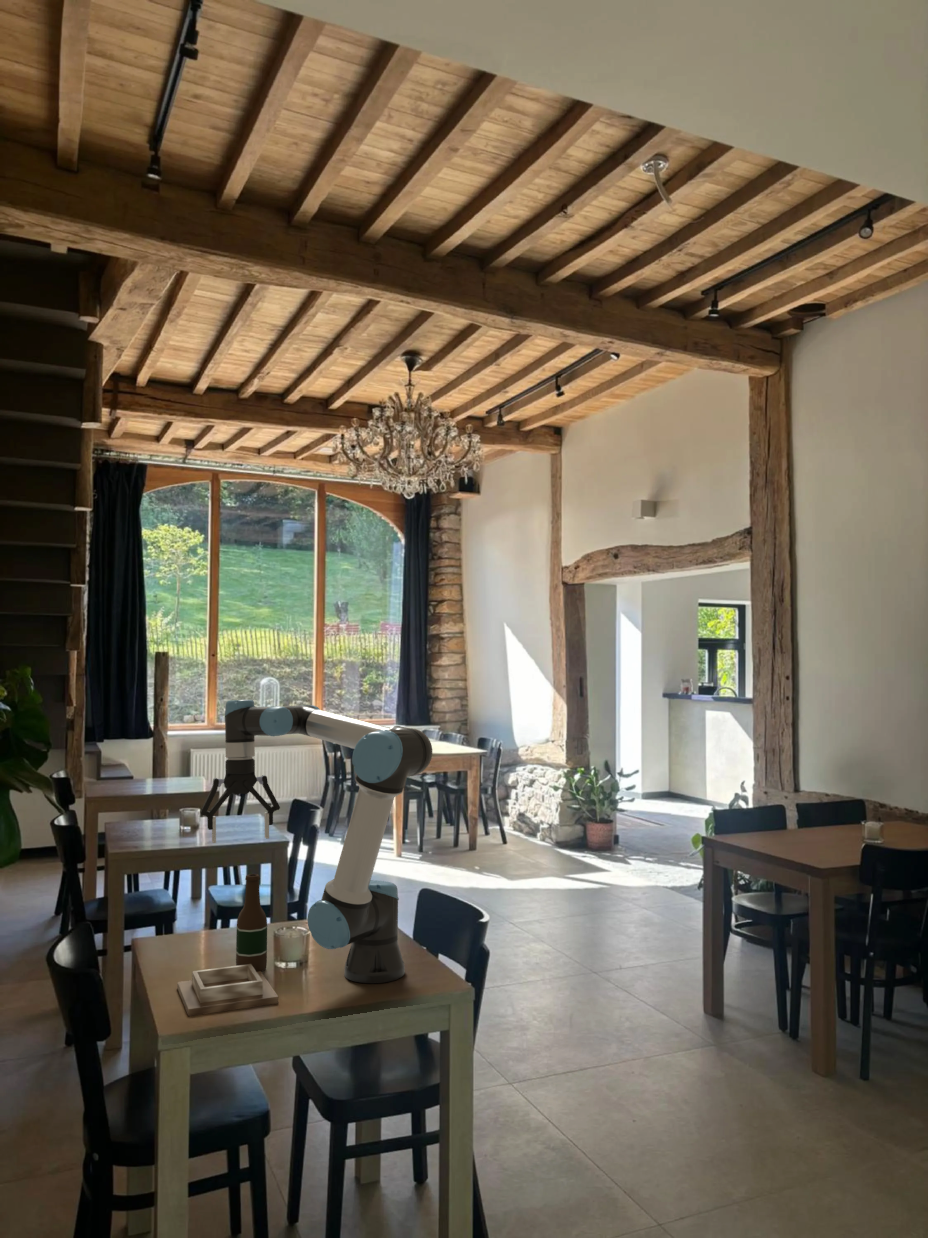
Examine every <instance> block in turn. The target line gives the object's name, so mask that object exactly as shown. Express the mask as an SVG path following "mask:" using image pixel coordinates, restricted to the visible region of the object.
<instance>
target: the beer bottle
mask: <svg viewBox="0 0 928 1238" xmlns="http://www.w3.org/2000/svg"><path fill="white" fill-rule="evenodd" d="M260 877H261V876H260V875H259V874H258V873H249V874H247V875H246V876H245V881H246V883H245V892H244V893H245V894H244V904H243V908H242V909H241V910H240V911H239V914H238V917H237V919H236V941H235V942H236V943H235V945H236V947H235V950H236V952H235V966H239V965H247V964H251V965H252V966H253V968H254V969H255V970H256V972H259V971H261V973H263V972H264V971H265V970H267V963H268V960H267V959H268V919H267V916H266V913H265V911H264V909H263V908H262V906H261V899H260V897H261V896H260V894H261V893H260V879H261V878H260Z"/></svg>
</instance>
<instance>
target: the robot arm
mask: <svg viewBox="0 0 928 1238" xmlns="http://www.w3.org/2000/svg"><path fill="white" fill-rule="evenodd" d="M224 709H225V711H224V723H225V725H224V726H225V728H224V733H225V734H224V735H225V757H226V760H225V767H224V768H225V774H224V775H225V776H224V778H218V777H214V778H213V780H212V787H211V788H210V791H209V792H208V795H207V796H206V799H205V801H204V802H203V805H202V807H201V809H200V813H199V814H200V815H202V816H204V817H207V821H206V822H207V829H208V830H210V831H211V842H212V843H213V844H216V843H217V817H216V816H215V814H216V813H217V811H218V810H219V809H220V808H221V806H222V805H224V803H225V801H226V800H227V799H228V798H229V797H230V796H231V795H238V796H239V795H241V794H242V795H248V794H249V793H250V794H251V795H253V797H254V798H255V799H256V800H257V801H258V802H259V804H260V805H262V807H263V808H264V809H265V810H266V812H264V838H265V839H270V826H273V823H274V812H277V811H279V810H280V809H281V806H280V804H279V802H278V800H277V799H276V797H275V794H274V793H273V791H272V789H271V788H270V785H269V782H268V777H267V775H265V774H263V775H260V776H256V773H255V772H256V770H255V769H256V767H255V766H256V760H255V759H254V757H255V755H256V753H255V750H256V749H255V739H256V738H255V737H256V736H258V737H259V736H261V737H262V736H264V737H265V736H267V737H268V736H269V737H280V736H285V735H292V734H293V735H294V734H297V735H298V734H300V735H304V736H307V737H312V738H315V739H319V740H322V741H325V742H328V743H332V744H336V745H339V746H342V747H346V748H351V749H352V750H353V752H352V757H351V759H352V762H351V763H352V766H354V767H353V770H354V772H355V774H356V776H355V782H356V784H357V785H358V788H359V789H358V791H357V795H356V799H355V802H354V803H355V804H354V807H353V810H352V813H351V816H350V820H349V824H348V828H347V831H346V834H345V838H344V842H343V846H342V850H341V853H340V857H339V859H338V863H337V866H336V867H337V868H336V871H335V875H334V878H333V879H331V880H329V881H327V882H326V884H325V886H324V889H323V894H322V897H321V899H319V900H317V901H315V902H314V903H313V904H312V905H311V906H310V908H309V909H308V913H307V927H308V929H309V930H308V931H309V933H310V934H311V937H312V938H313V940H314V941H315V943H316V944H318V945H319V946H321V947H323V948H324V949H327V950H335V949H341V948H345V947H346V946H347V945H350V944H351V945H350V949H349V952H348V954H347V957H346V959H345V960H346V961H345V964H344V977H345V978H346V979H347V980H349V981H352V982H356V983H362V984H382V983H383V984H384V983H389V982H393V981H396V980H398V979H401V978H402V977H404V975H405V971H406V970H405V969H406V968H405V965H406V964H405V962H404V960H403V957H402V952H401V949H400V946H399V941H398V939H399V938H398V935H399V934H398V933H399V931H398V930H399V900H400V898H399V894H398V893H399V892H398V891H399V890H398V886H397V885H396V884H395V883H393V882H391V881H385V880H374V879H372V876H373V873H374V870H375V866H376V862H377V859H378V856H379V852H380V848H381V846H382V841H383V838H384V835H385V831H386V827H387V824H388V820H389V819H390V818H389V817H390V813H391V810H392V807H393V803H394V800H395V797H397V796H399V795H401V794H402V793H403V791H404V788H405V785H406V782H407V778H409V777H414V776H417V775H419V774H420V773H423V772H424V771H425V770H426V769H427V768H428V767H429V765H430V763H431V762H432V759H433V747H432V746H433V745H432V743H431V741H430V739H429V737H428V736H427V735H426V734H425V733H424V732H423V731H422V730H419V729H416V728H412V727H411V728H410V727H405V726H401V725H393V726H391V727H388V726H385V725H380V724H377V723H373V722H368V721H364V720H360V719H357V718H353V717H350V716H346V715H341V714H338V713H334V712H331V711H325V710H322V709H320V708H319V706H316V705H314V704H313V705H311V704H301V705H280V706H279V705H276V706H275V705H272V706H255V701H254V699H230V700H227V702H226V703H225V707H224ZM257 782H258V783H259V784H260V785H262V787H263V789H264V791H265V793H266V795H267V797H268V799H269V801H270V804H271V805H272V806H270V804H269V803H268V802H267V801H266V800H265V799H264V798H263V796H261V795H260V793H259V792H258V791H257V790H256V789H255V788H254V786H255V784H257ZM222 784H223V785H225V787H226V789H225V791H224V792H223V793H222V794H221V796H220V797H218V799H217V801H216V802H215V803H214V805H213V806H211V804H212V801H213V800H214V797H215V796H216V793H217V791H218V789H219V788H220V787H221V786H222ZM210 806H211V808H210ZM209 808H210V809H209Z"/></svg>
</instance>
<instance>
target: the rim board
mask: <svg viewBox="0 0 928 1238" xmlns="http://www.w3.org/2000/svg"><path fill="white" fill-rule="evenodd" d="M191 972H192V973H191V979H190V980H182V981H177V991H178V993H179V996H180V999H181V1001H182V1004H183V1006H184V1008H185V1011H186V1014H187V1016H188V1017H192V1016H193V1017H194V1016H198V1015H206V1014H212V1013H218V1012H219V1013H220V1012H228V1011H233V1010H240V1009H247V1008H255V1007H262V1006H268V1005H269V1006H270V1005H275V1004H279V995H278V993H276V991H275V990H274V989H273V986H271V984H270V982H269V981H268V980H267V978H266V977H265V975H264V974H263V972H261V971H259V972H256V970H255V969H254V968H253V966H252V965H251V964H247V965H239V966H236V965H231V966H225V967H215V968H209V969H200V970H193V971H191Z"/></svg>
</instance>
